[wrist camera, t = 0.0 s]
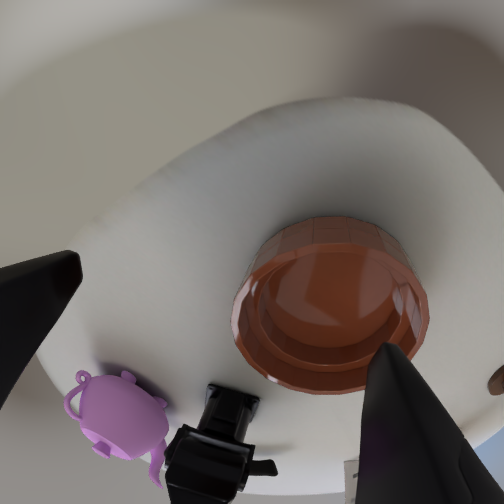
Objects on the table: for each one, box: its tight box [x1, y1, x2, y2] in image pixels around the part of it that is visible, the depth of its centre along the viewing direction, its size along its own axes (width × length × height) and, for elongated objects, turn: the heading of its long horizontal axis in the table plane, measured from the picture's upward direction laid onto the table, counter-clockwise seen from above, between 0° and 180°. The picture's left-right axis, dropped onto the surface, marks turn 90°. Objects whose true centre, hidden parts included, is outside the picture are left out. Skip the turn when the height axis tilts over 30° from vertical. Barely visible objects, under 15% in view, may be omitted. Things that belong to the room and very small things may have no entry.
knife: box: [249, 459, 278, 476], centre depth 42 cm, size 25×2×5 cm, turn 118°
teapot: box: [64, 370, 169, 489], centre depth 34 cm, size 20×14×12 cm
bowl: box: [230, 216, 430, 395], centre depth 21 cm, size 14×14×5 cm
